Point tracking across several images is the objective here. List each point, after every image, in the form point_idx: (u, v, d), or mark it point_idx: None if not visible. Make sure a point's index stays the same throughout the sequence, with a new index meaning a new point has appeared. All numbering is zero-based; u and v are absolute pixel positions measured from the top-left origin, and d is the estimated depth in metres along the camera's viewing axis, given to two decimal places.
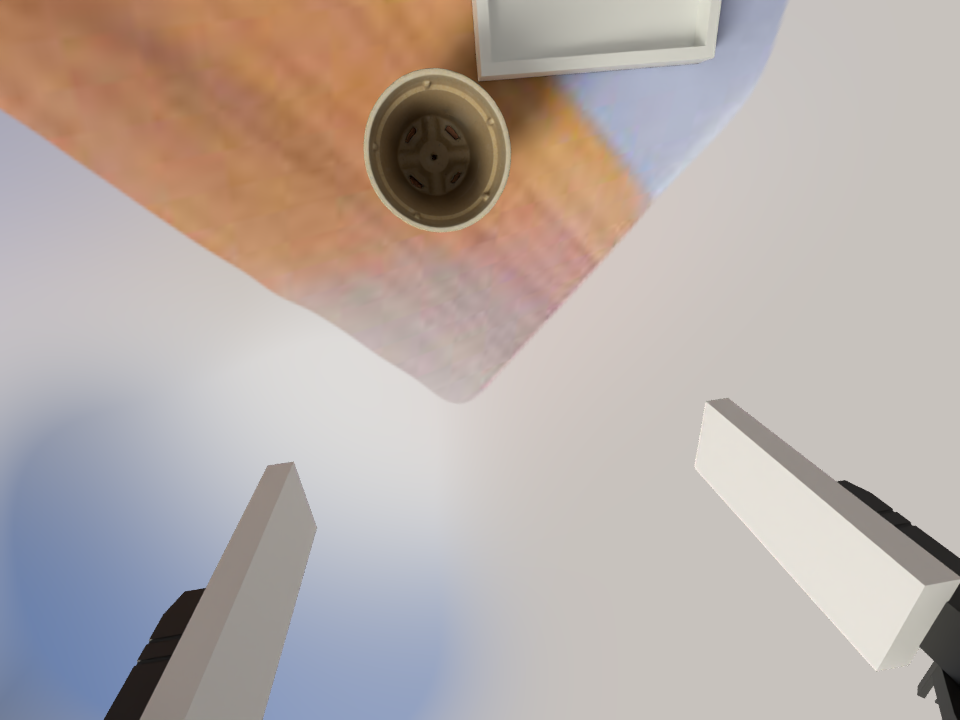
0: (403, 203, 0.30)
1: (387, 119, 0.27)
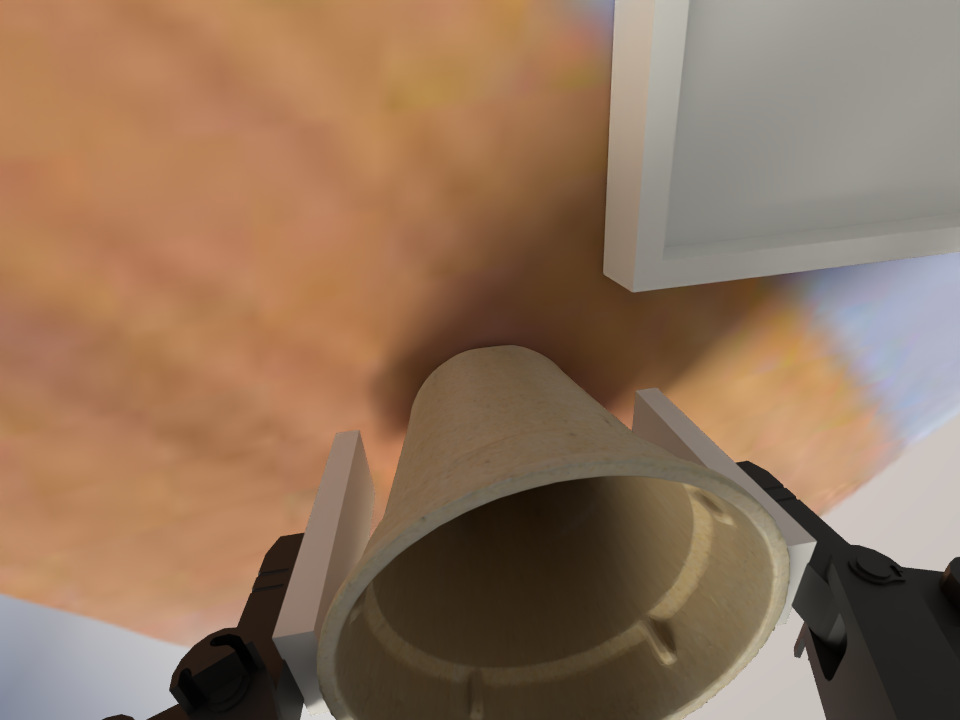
0: (438, 661, 0.11)
1: None
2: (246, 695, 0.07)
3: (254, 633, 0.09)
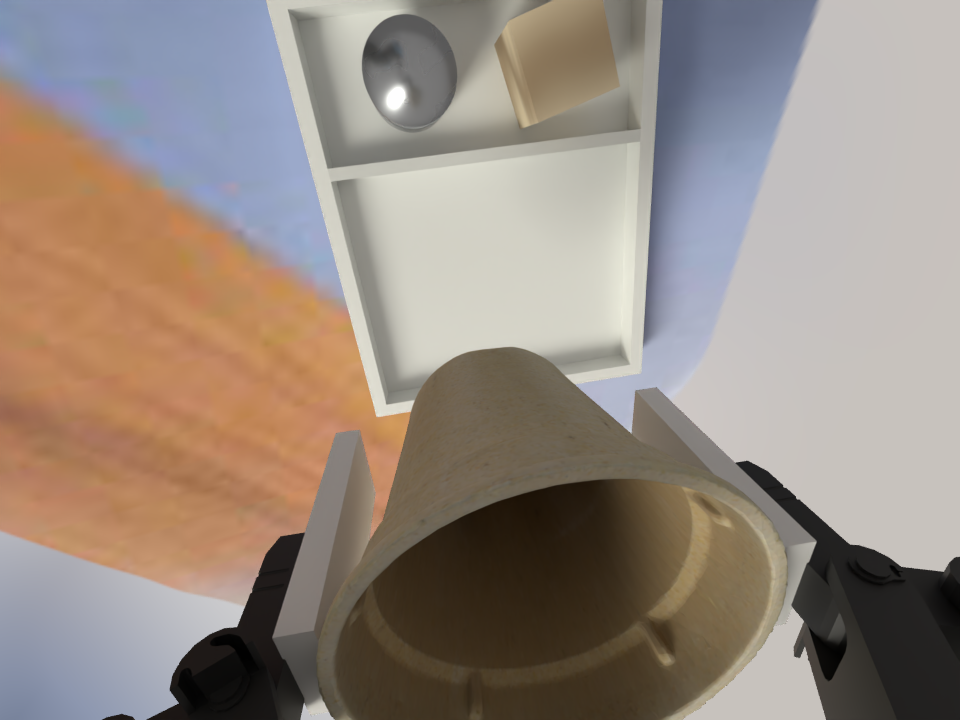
0: (437, 662, 0.11)
1: None
2: (246, 695, 0.07)
3: (255, 632, 0.09)
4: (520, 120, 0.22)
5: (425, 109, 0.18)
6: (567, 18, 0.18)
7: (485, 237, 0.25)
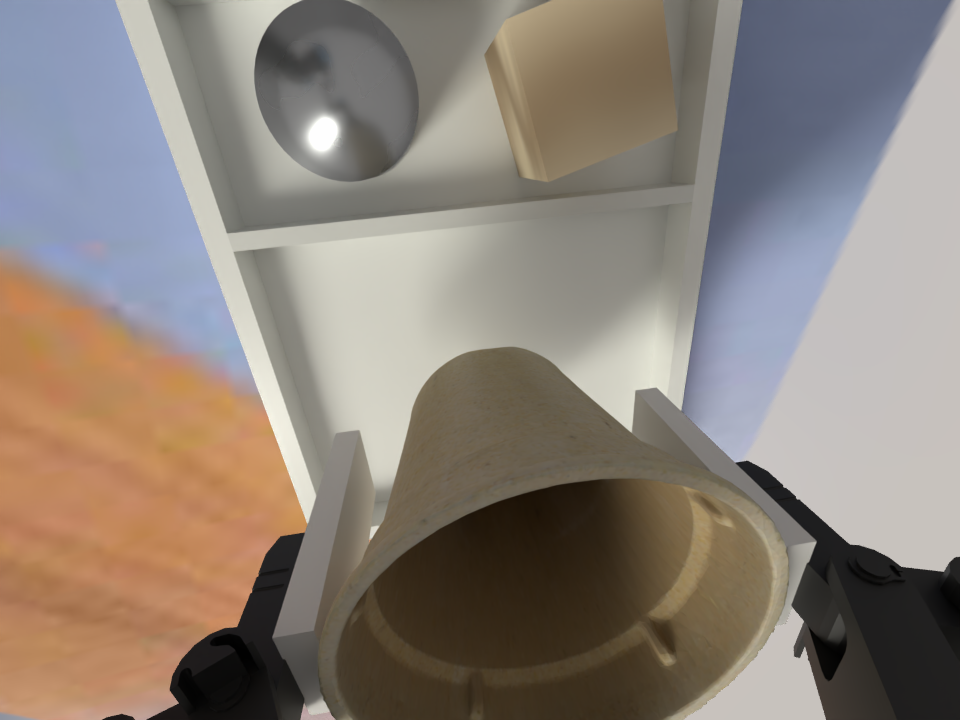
0: (438, 662, 0.11)
1: None
2: (246, 695, 0.07)
3: (255, 632, 0.09)
4: (520, 166, 0.15)
5: (370, 153, 0.11)
6: (603, 19, 0.11)
7: (467, 320, 0.18)
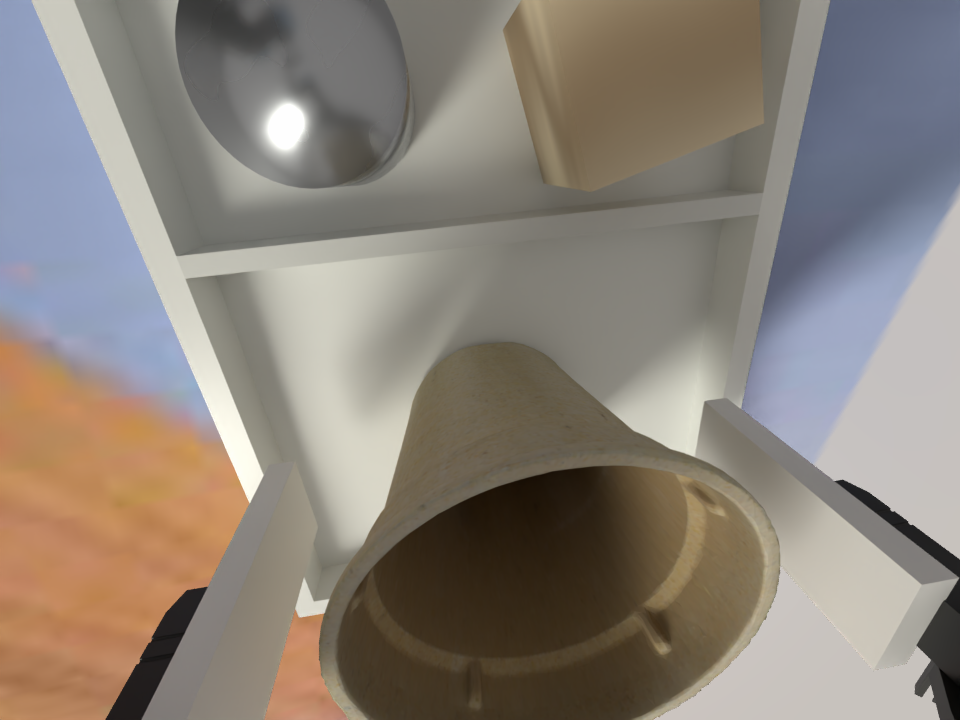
0: (437, 651, 0.11)
1: None
2: None
3: (129, 718, 0.07)
4: (546, 171, 0.12)
5: (348, 144, 0.08)
6: None
7: None
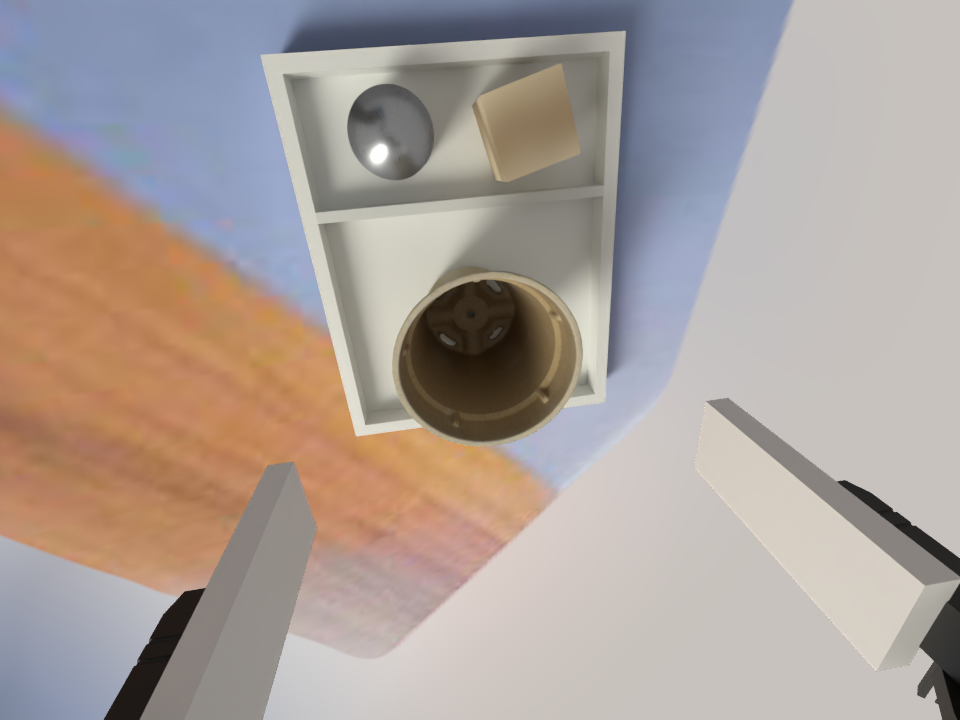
0: (438, 403, 0.23)
1: (421, 314, 0.21)
2: None
3: None
4: (494, 173, 0.24)
5: (415, 157, 0.20)
6: (533, 94, 0.20)
7: None
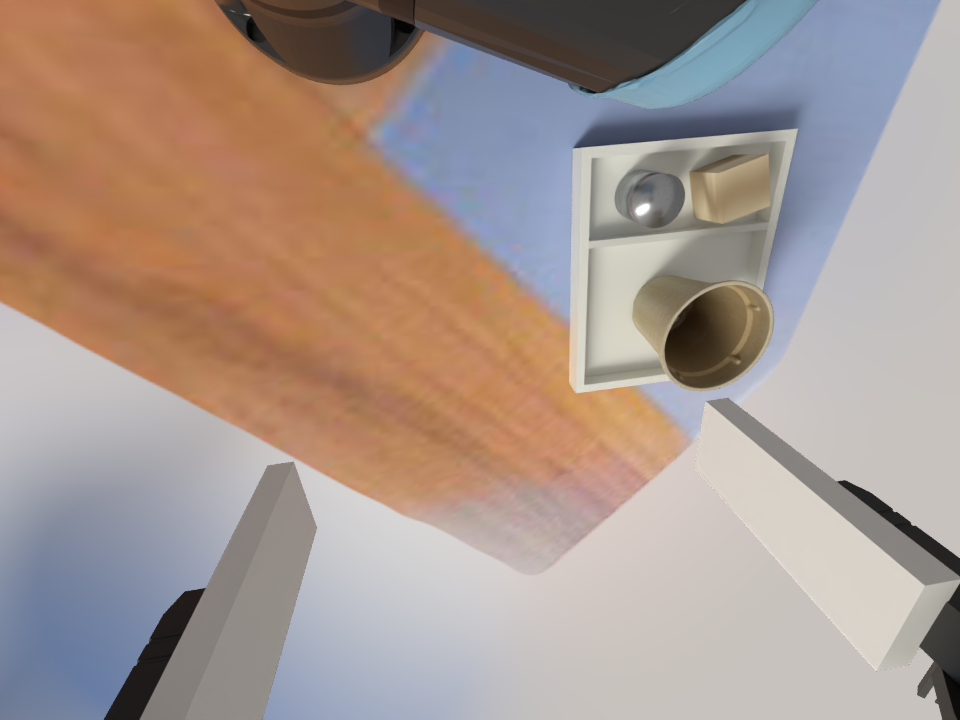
0: (667, 364, 0.36)
1: (671, 306, 0.34)
2: None
3: None
4: (698, 214, 0.37)
5: (671, 212, 0.33)
6: (749, 172, 0.33)
7: None
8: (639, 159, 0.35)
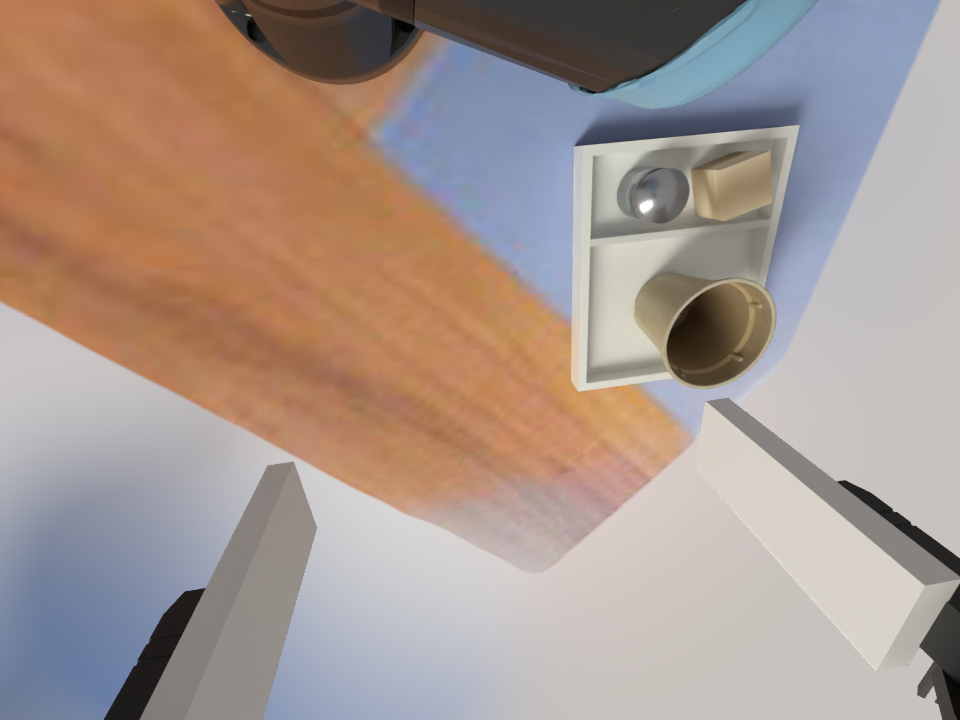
0: (669, 362, 0.36)
1: (673, 304, 0.34)
2: None
3: None
4: (699, 212, 0.37)
5: (678, 205, 0.33)
6: (750, 168, 0.32)
7: None
8: (640, 157, 0.35)
